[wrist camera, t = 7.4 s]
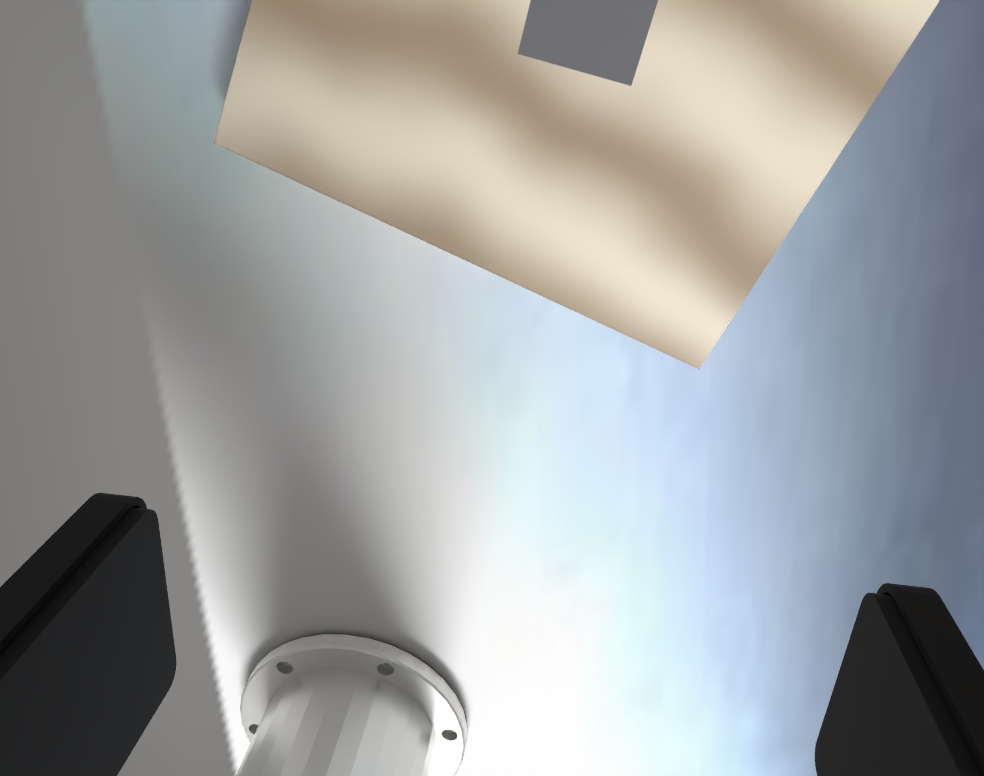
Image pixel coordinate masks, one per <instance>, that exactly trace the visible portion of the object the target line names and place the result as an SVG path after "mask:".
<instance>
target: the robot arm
mask: <svg viewBox="0 0 984 776" xmlns="http://www.w3.org/2000/svg"><path fill="white" fill-rule="evenodd" d="M175 671H176V654H175V646H174V639H173V632H172V623H171V616H170V608H169V600H168V593H167V585H166V578H165V570H164V563H163V554H162V547H161V539H160V532H159V524H158V518H157V514H156V513H155V511H153V510H150V509H147V507H146V504H145V502H144V501H143V499H141V498H139V497H132V496H123V495H114V494H105V493H97V494H94V495H93V496H92V497H90V498H89V499H88V500H87V501H86V502H85V503H84V504H83V505H82V506H81V507H80V508H79V509H78V510H77V511H76V512H75V513H74V514H73V515H72V516H71V517H70V518H69V519H68V520H67V521H66V522H65V523H64V524H63V525H62V526H61V527H60V528H59V529H58V530H57V531H56V532H55V533H54V534H53V535H52V536H51V537H50V538H49V539H48V540H47V541H46V542H45V543H44V544H43V545H42V546H41V547H40V548H39V549H38V550H37V551H36V552H35V553H34V554H33V555H32V556H31V557H30V558H29V559H28V560H27V561H26V562H25V563H24V564H23V565H22V566H21V567H20V568H19V569H18V570H17V571H16V572H15V573H14V574H13V575H12V576H11V577H10V578H9V579H8V580H7V581H6V582H5V583H4V584H3V585H2V586H1V587H0V776H117V775H118V773H119V771H120V770H121V768H122V766H123V765H124V763H125V761H126V760H127V758H128V756H129V755H130V753H131V751H132V750H133V748H134V747H135V745H136V743H137V742H138V740H139V738H140V737H141V735H142V733H143V732H144V730H145V728H146V727H147V725H148V723H149V722H150V720H151V719H152V717H153V715H154V714H155V712H156V710H157V709H158V707H159V705H160V704H161V702H162V700H163V699H164V697H165V695H166V694H167V692H168V691H169V688H170V687H171V685H172V681H173V679H174V675H175ZM240 711H241V718H242V724H243V727H244V729H245V732H246V734H247V737H248V739H249V741H250V742H251V744H250V746H249V749H248V751H247V753H246V755H245V757H244V760H243V762H242V764H241V766H240V769H239V771H238V773H237V775H236V776H454V775H455V774H456V772H457V770H458V768H459V766H460V764H461V762H462V760H463V756H464V751H465V746H466V741H467V723H466V719H465V715H464V711H463V708H462V706H461V704H460V702H459V700H458V698H457V696H456V694H455V693H454V692H453V691H452V689H451V688H450V687H449V685H448V684H447V683H446V682H445V680H444V679H443V678H442V677H440V676H439V675H438V674H437V673H436V672H435V671H434V670H433V669H431V668H430V667H429V666H428V665H426V664H425V663H423V662H422V661H420V660H419V659H417V658H416V657H414V656H412V655H411V654H409V653H407V652H405V651H403V650H401V649H398V648H396V647H394V646H392V645H390V644H386V643H383V642H380V641H376V640H373V639H370V638H365V637H358V636H352V635H345V634H322V635H315V636H308V637H302V638H299V639H296V640H293V641H290V642H287V643H284V644H283V645H281V646H279V647H278V648H276V649H274V650H272V651H271V652H269V653H268V654H267V655H266V656H265V657H264V658H263V659H262V660H261V661H260V662H259V663H258V664H257V665H256V667H255V669H254V670H253V672H252V674H251V675H250V677H249V679H248V681H247V684H246V686H245V688H244V691H243V693H242V698H241V706H240ZM815 765H816V771H817V776H984V670H983V669H982V667H981V665H980V664H979V662H978V660H977V658H976V657H975V655H974V653H973V652H972V650H971V648H970V647H969V645H968V643H967V642H966V640H965V638H964V636H963V635H962V633H961V631H960V630H959V628H958V626H957V625H956V623H955V621H954V620H953V618H952V616H951V614H950V613H949V611H948V609H947V608H946V606H945V604H944V603H943V601H942V599H941V598H940V596H939V595H938V593H937V592H936V591H935V590H933V589H931V588H924V587H915V586H907V585H898V584H889V583H886V584H883V585H882V586H881V587H880V588H879V590H878V592H877V594H876V593H867V594H866V595H865V596H864V598H863V600H862V602H861V606H860V609H859V612H858V615H857V618H856V621H855V624H854V627H853V630H852V633H851V636H850V640H849V643H848V646H847V649H846V652H845V655H844V658H843V661H842V664H841V667H840V671H839V674H838V677H837V680H836V683H835V686H834V689H833V692H832V695H831V698H830V702H829V705H828V708H827V711H826V714H825V717H824V720H823V723H822V726H821V729H820V733H819V736H818V739H817V742H816V748H815Z"/></svg>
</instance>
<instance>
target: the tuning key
mask: <svg viewBox="0 0 984 776" xmlns="http://www.w3.org/2000/svg"><path fill="white" fill-rule="evenodd" d="M657 3H658V0H531V1H530V5H529V9H528V13H527V17H526V21H525V25H524V30H523V34H522V38H521V42H520V46H519V50H518V54H519V55H523V56H526V57H530V58H534V59H537V60H541V61H544V62H548V63H551V64H555V65H558V66H562V67H565V68H569V69H572V70H576V71H580V72H583V73H587V74H590V75H594V76H597V77H601V78H604V79H608V80H611V81H615V82H618V83H622V84H626V85H629V86H631V85H632V82H633V79H634V76H635V73H636V69H637V66H638V63H639V60H640V57H641V53H642V50H643V47H644V44H645V41H646V38H647V34H648V31H649V28H650V25H651V22H652V18H653V15H654V12H655V9H656V6H657Z"/></svg>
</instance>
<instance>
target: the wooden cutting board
mask: <svg viewBox="0 0 984 776" xmlns="http://www.w3.org/2000/svg"><path fill="white" fill-rule="evenodd" d="M530 1H531V0H252V1H251V5H250V9H249V13H248V16H247V20H246V24H245V28H244V31H243V35H242V39H241V43H240V47H239V50H238V54H237V58H236V62H235V65H234V69H233V73H232V77H231V80H230V84H229V88H228V92H227V95H226V99H225V103H224V107H223V110H222V114H221V118H220V122H219V125H218V129H217V133H216V137H215V141H214V143H215V144H217V145H219V146H221V147H224V148H226V149H228V150H230V151H232V152H234V153H236V154H239V155H241V156H243V157H245V158H247V159H249V160H251V161H254V162H256V163H258V164H260V165H262V166H264V167H266V168H269V169H271V170H273V171H275V172H277V173H279V174H281V175H284V176H286V177H288V178H290V179H292V180H294V181H296V182H299V183H301V184H303V185H305V186H307V187H309V188H312V189H314V190H316V191H318V192H320V193H322V194H324V195H327V196H329V197H331V198H333V199H335V200H337V201H339V202H342V203H344V204H346V205H348V206H350V207H352V208H354V209H357V210H359V211H361V212H363V213H365V214H367V215H369V216H372V217H374V218H376V219H378V220H380V221H382V222H384V223H387V224H389V225H391V226H393V227H395V228H397V229H399V230H402V231H404V232H406V233H408V234H410V235H412V236H414V237H417V238H419V239H421V240H423V241H425V242H427V243H429V244H432V245H434V246H436V247H438V248H440V249H442V250H444V251H447V252H449V253H451V254H453V255H455V256H457V257H459V258H462V259H464V260H466V261H468V262H470V263H472V264H475V265H477V266H479V267H481V268H483V269H485V270H487V271H490V272H492V273H494V274H496V275H498V276H500V277H502V278H505V279H507V280H509V281H511V282H513V283H515V284H517V285H520V286H522V287H524V288H526V289H528V290H530V291H532V292H535V293H537V294H539V295H541V296H543V297H545V298H547V299H550V300H552V301H554V302H556V303H558V304H560V305H562V306H565V307H567V308H569V309H571V310H573V311H575V312H577V313H580V314H582V315H584V316H586V317H588V318H590V319H592V320H595V321H597V322H599V323H601V324H603V325H605V326H607V327H610V328H612V329H614V330H616V331H618V332H620V333H622V334H625V335H627V336H629V337H631V338H633V339H635V340H638V341H640V342H642V343H644V344H646V345H648V346H650V347H653V348H655V349H657V350H659V351H661V352H663V353H665V354H668V355H670V356H672V357H674V358H676V359H678V360H680V361H683V362H685V363H687V364H689V365H691V366H693V367H695V368H698V369H700V367H701V365H702V364H703V362H704V361H705V359H706V358H707V356H708V355H709V353H710V352H711V350H712V349H713V347H714V346H715V344H716V342H717V341H718V339H719V338H720V336H721V335H722V333H723V332H724V330H725V329H726V327H727V326H728V324H729V323H730V321H731V319H732V318H733V316H734V315H735V313H736V312H737V310H738V309H739V307H740V306H741V304H742V303H743V301H744V300H745V298H746V296H747V295H748V293H749V292H750V290H751V289H752V287H753V286H754V284H755V283H756V281H757V280H758V278H759V277H760V275H761V274H762V272H763V270H764V269H765V267H766V266H767V264H768V263H769V261H770V260H771V258H772V257H773V255H774V254H775V252H776V251H777V249H778V247H779V246H780V244H781V243H782V241H783V240H784V238H785V237H786V235H787V234H788V232H789V231H790V229H791V228H792V226H793V224H794V223H795V221H796V220H797V218H798V217H799V215H800V214H801V212H802V211H803V209H804V208H805V206H806V205H807V203H808V201H809V200H810V198H811V197H812V195H813V194H814V192H815V191H816V189H817V188H818V186H819V185H820V183H821V182H822V180H823V179H824V177H825V175H826V174H827V172H828V171H829V169H830V168H831V166H832V165H833V163H834V162H835V160H836V159H837V157H838V156H839V154H840V152H841V151H842V149H843V148H844V146H845V145H846V143H847V142H848V140H849V139H850V137H851V136H852V134H853V133H854V131H855V129H856V128H857V126H858V125H859V123H860V122H861V120H862V119H863V117H864V116H865V114H866V113H867V111H868V110H869V108H870V106H871V105H872V103H873V102H874V100H875V99H876V97H877V96H878V94H879V93H880V91H881V90H882V88H883V87H884V85H885V84H886V82H887V80H888V79H889V77H890V76H891V74H892V73H893V71H894V70H895V68H896V67H897V65H898V64H899V62H900V61H901V59H902V57H903V56H904V54H905V53H906V51H907V50H908V48H909V47H910V45H911V44H912V42H913V41H914V39H915V38H916V36H917V34H918V33H919V31H920V30H921V28H922V27H923V25H924V24H925V22H926V21H927V19H928V18H929V16H930V15H931V13H932V11H933V10H934V8H935V7H936V5H937V4H938V2H939V1H940V0H658V3H657V6H656V9H655V12H654V15H653V18H652V22H651V25H650V28H649V31H648V34H647V38H646V41H645V44H644V47H643V50H642V53H641V57H640V60H639V63H638V66H637V69H636V73H635V76H634V79H633V82H632V85H631V86H629V85H626V84H622V83H618V82H615V81H611V80H608V79H604V78H601V77H597V76H594V75H590V74H587V73H583V72H580V71H576V70H572V69H569V68H565V67H562V66H558V65H555V64H551V63H548V62H544V61H541V60H537V59H534V58H530V57H526V56H523V55H519V54H518V50H519V46H520V42H521V38H522V34H523V30H524V25H525V21H526V17H527V13H528V9H529V5H530Z"/></svg>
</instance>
